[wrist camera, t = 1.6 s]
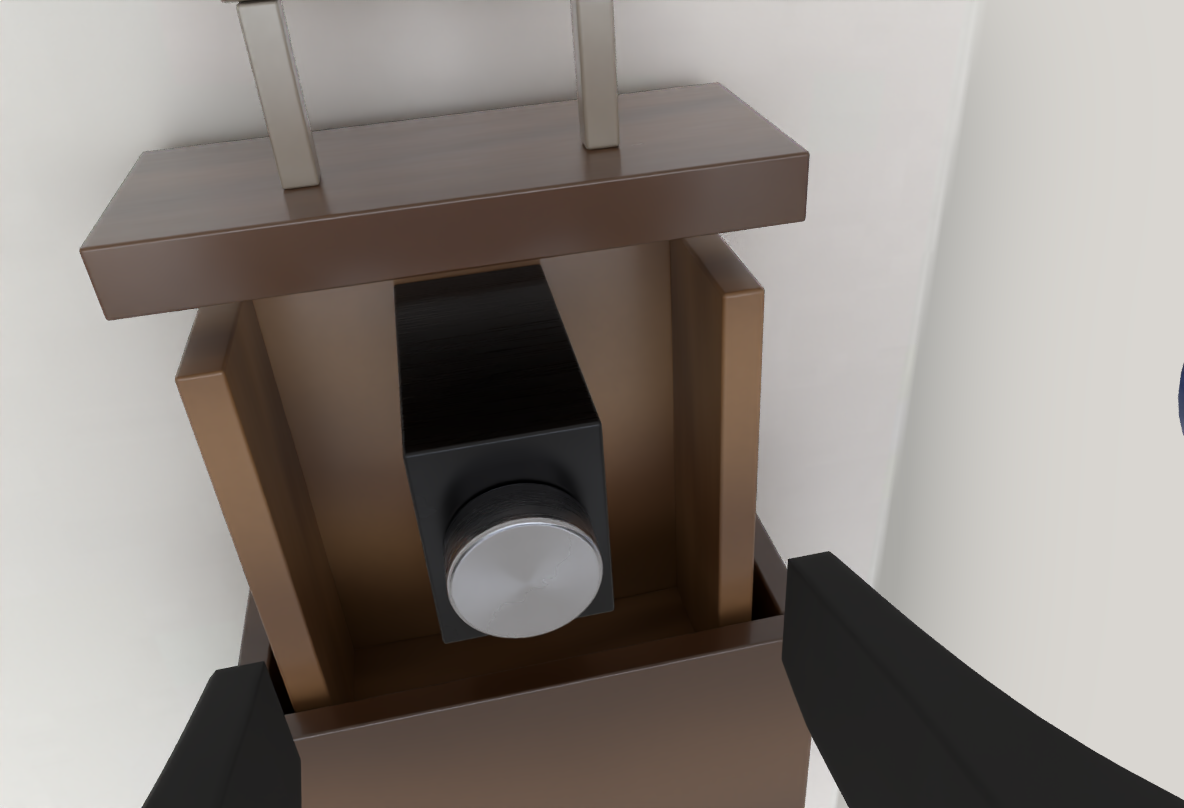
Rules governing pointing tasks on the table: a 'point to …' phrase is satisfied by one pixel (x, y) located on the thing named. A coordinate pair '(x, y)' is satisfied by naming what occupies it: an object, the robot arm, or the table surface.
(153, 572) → the table surface
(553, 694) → the cabinet
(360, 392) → the drawer
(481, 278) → the push button
